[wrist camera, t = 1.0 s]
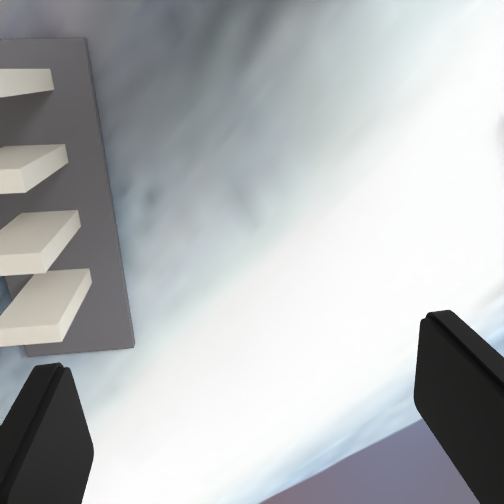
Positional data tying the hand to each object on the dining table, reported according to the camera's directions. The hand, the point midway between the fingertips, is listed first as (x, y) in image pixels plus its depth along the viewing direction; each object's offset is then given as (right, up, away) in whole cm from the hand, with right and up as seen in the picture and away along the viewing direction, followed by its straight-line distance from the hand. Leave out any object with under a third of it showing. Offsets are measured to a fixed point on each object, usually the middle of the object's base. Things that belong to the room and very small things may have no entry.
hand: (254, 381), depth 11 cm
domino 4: (-18, +1, +30) cm, 36 cm away
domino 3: (-19, +6, +28) cm, 34 cm away
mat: (-19, +7, +29) cm, 35 cm away
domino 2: (-19, +12, +26) cm, 34 cm away
